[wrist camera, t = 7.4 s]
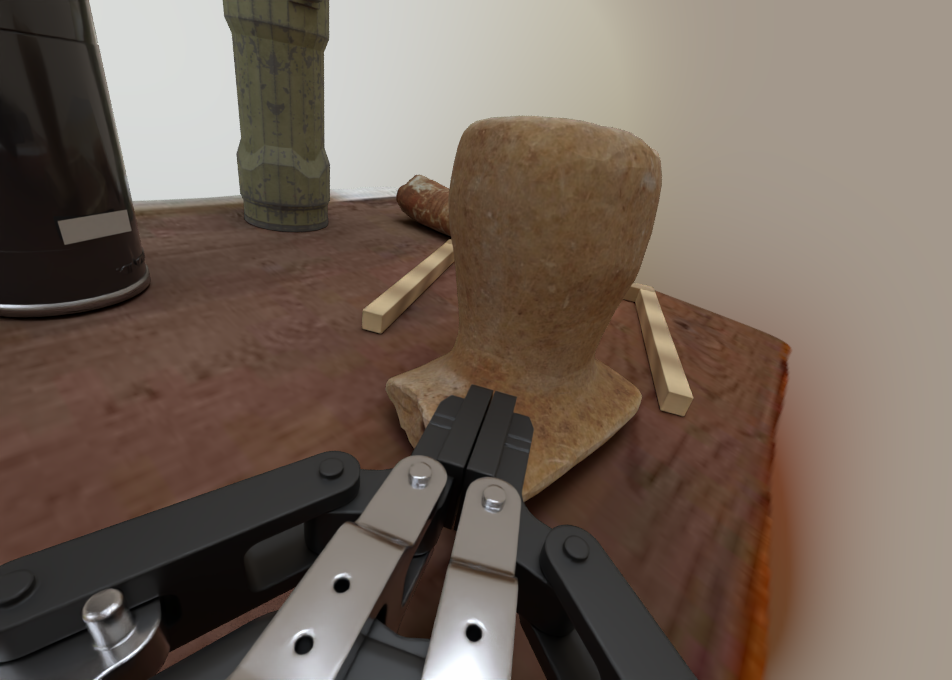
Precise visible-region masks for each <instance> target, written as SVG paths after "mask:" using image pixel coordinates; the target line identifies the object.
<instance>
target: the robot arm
mask: <svg viewBox="0 0 952 680" xmlns="http://www.w3.org/2000/svg"><path fill="white" fill-rule="evenodd" d="M97 43H98V41H97V36H96V32H95V27H94V22H93V17H92V13H91V8H90V4H89V0H0V316H5V317H44V316H56V315H65V314H73V313H79V312H85V311H90V310H95V309H99V308H103V307H107V306H110V305H113V304H117V303H119V302H122V301H125V300H127V299H129V298H132V297H134V296H136V295H137V294H139V293H141V292H142V291H143V290H145V289H146V288H147V286H148V285H149V283H150V274H149V270H148V266H147V265H146V264H145V255H144V251H143V247H142V245H141V240H140V236H139V231H138V227H137V221H136V216H135V212H134V207H133V202H132V198H131V193H130V189H129V184H128V179H127V175H126V170H125V165H124V161H123V156H122V151H121V147H120V142H119V138H118V133H117V128H116V124H115V119H114V114H113V110H112V105H111V100H110V96H109V91H108V87H107V82H106V77H105V73H104V68H103V63H102V59H101V54H100V50H99V45H98V44H97ZM493 392H494V390H491V389H488V388H484V387H481V386H477V385H473V384H471V386H470V388H469V390H468V393H467V395H466V397H465V398H461V397H458V396H454V395H450V396H449V397H447V398H446V399H444V400H443V401H441V402H440V403H439V405H438V407H437V409H436V411H435V413H434V415H433V416H432V418H431V420H430V422H429V424H428V425H427V427H426V429H425V431H424V433H423V434H422V436H421V438H420V440H419V442H418V443H417V445H416V447H415V449H414V451H413V453H412V454H411V456H409V457H406V458H404V459H402V460H401V461H399V462H398V463H397V464H396V466H395V467H394V468H392V469H387V470H364V469H360V464H359V462H358V461H357V460H356V458H354V457H353V456H352V455H350V454H348V453H345V452H341V451H328V452H324V453H320V454H317V455H314V456H311V457H309V458H306V459H303V460H300V461H297V462H294V463H291V464H288V465H286V466H283V467H280V468H277V469H274V470H271V471H268V472H265V473H263V474H260V475H257V476H254V477H251V478H248V479H245V480H242V481H240V482H237V483H234V484H231V485H228V486H225V487H222V488H219V489H217V490H214V491H211V492H208V493H205V494H202V495H199V496H196V497H193V498H191V499H188V500H185V501H182V502H179V503H176V504H173V505H170V506H168V507H165V508H162V509H159V510H156V511H153V512H150V513H147V514H145V515H142V516H139V517H136V518H133V519H130V520H127V521H124V522H122V523H119V524H116V525H113V526H110V527H107V528H104V529H101V530H98V531H96V532H93V533H90V534H87V535H84V536H81V537H78V538H75V539H73V540H70V541H67V542H64V543H61V544H58V545H55V546H52V547H50V548H47V549H44V550H41V551H38V552H35V553H32V554H29V555H27V556H24V557H21V558H18V559H15V560H13V561H10V562H7V563H5V564H3V565H1V566H0V680H511V670H512V657H513V645H514V633H515V621H516V612H517V613H518V614H519V619H520V623H521V626H522V628H523V630H524V633H525V635H526V637H527V639H528V641H529V643H530V645H531V647H532V649H533V651H534V653H535V655H536V658H537V660H538V662H539V664H540V666H541V668H542V670H543V672H544V674H545V676H546V678H547V680H697V678H696V677H695V675H694V674H693V673H692V671H691V670H690V668H689V667H688V666H687V664H686V663H685V662H684V660H683V659H682V657H681V656H680V655H679V653H678V652H677V650H676V649H675V648H674V646H673V645H672V644H671V642H670V641H669V639H668V638H667V637H666V635H665V634H664V632H663V631H662V630H661V628H660V627H659V626H658V624H657V623H656V621H655V620H654V619H653V617H652V616H651V614H650V613H649V612H648V610H647V609H646V608H645V606H644V605H643V603H642V602H641V601H640V599H639V598H638V596H637V595H636V594H635V592H634V591H633V590H632V588H631V587H630V585H629V584H628V583H627V581H626V580H625V578H624V577H623V576H622V574H621V573H620V572H619V570H618V569H617V567H616V566H615V565H614V563H613V562H612V560H611V559H610V558H609V556H608V555H607V553H606V552H605V551H604V549H603V548H602V547H601V545H600V544H599V542H598V541H597V540H596V539H595V538H594V537H593V536H592V535H591V534H589V533H588V532H587V531H585V530H583V529H581V528H579V527H576V526H572V525H560V526H557V527H554V528H553V529H552V528H550V527H548V526H547V525H545V524H544V523H542V522H541V521H539V520H538V519H536V518H535V517H534V516H533V515H532V514H531V513H530V512H529V510H528V509H527V507H526V506H525V503H524V501H523V497H522V489H523V484H524V479H525V474H526V469H527V463H528V458H529V453H530V448H531V442H532V438H533V433H534V428H533V425H532V422H531V419H530V417H528V416H525V415H521V414H518V413H514V408H515V404H516V400H517V397H516V396H513V395H509V394H506V393H502V392H499V391H495V393H494V395H493ZM492 397H493V398H492ZM457 511H458V512H457ZM456 514H457V516H456ZM455 517H456V521H455V526H454V530H455V531H457V533H456V538H455V542H454V546H453V550H452V554H451V558H450V561H449V565H448V569H447V573H446V577H445V581H444V586H443V590H442V594H441V598H440V602H439V606H438V610H437V615H436V619H435V623H434V627H433V631H432V635H431V639H421V638H406V637H402V636H399V635H398V634H397V633H398V630H399V626H400V624H401V621H402V618H403V616H404V614H405V611H406V609H407V607H408V605H409V603H410V601H411V599H412V597H413V594H414V592H415V590H416V588H417V586H418V584H419V582H420V579H421V577H422V575H423V573H424V571H425V569H426V567H427V565H428V562H429V560H430V558H431V556H432V554H433V551H434V546H435V545H436V543H437V541H438V538H439V536H440V533H441V530H442V528H443V527H445V528H448V529H452V526H453V523H454V520H455ZM293 588H295V589H294V590H293V591H292V593H291V594H290V596H289V597H288V598H287V600H286V601H285V602H284V604H283V605H282V606H281V608H280V609H279V610H277V611H274V612H270V613H268V614H265V615H263V616H261V617H258V618H256V619H254V620H252V621H250V622H248V623H247V624H245V625H243V626H241V627H240V628H238V629H236V630H234V631H233V632H231V633H229V634H227V635H225V636H224V637H222V638H220V639H218V640H217V641H215V642H213V643H211V644H210V645H208V646H206V647H204V648H202V649H201V650H199V651H197V652H195V653H194V654H192V655H190V656H188V657H187V658H185V659H183V660H181V661H180V662H178V663H176V664H174V665H172V666H171V667H169V668H167V669H165V670H164V671H162V672H160V673H158V674H157V672H158V671H159V670H160V669H161V667H162V665H163V664H164V662H165V660H166V658H167V656H168V653H169V652H171V651H173V650H175V649H177V648H179V647H181V646H182V645H184V644H186V643H188V642H190V641H192V640H194V639H196V638H198V637H200V636H202V635H204V634H206V633H208V632H210V631H211V630H213V629H215V628H217V627H219V626H221V625H223V624H225V623H227V622H229V621H231V620H233V619H235V618H237V617H239V616H240V615H242V614H244V613H246V612H248V611H250V610H252V609H254V608H256V607H258V606H260V605H262V604H264V603H266V602H268V601H269V600H271V599H273V598H275V597H277V596H279V595H281V594H283V593H285V592H287V591H289V590H291V589H293ZM156 674H157V675H156Z"/></svg>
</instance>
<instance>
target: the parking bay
mask: <svg viewBox="0 0 952 680" xmlns="http://www.w3.org/2000/svg"><path fill="white" fill-rule="evenodd" d="M454 261H455V260H454V252H453V245H452V240H448V241H447V242H446V243H445V244H444V245H442V246H441V247H440V248H439V249H437V250H436V251H435V252H434V253H433V254H431V255H430V256H429V257H428V258H426V259H425V260H424V261H423V262H421V263H420V264H419V265H418V266H416V267H415V268H414V269H413V270H412V271H410V272H409V273H408V274H407V275H405V276H404V277H403V278H402V279H400V280H399V281H398V282H397V283H395V284H394V285H393V286H392V287H391V288H389V289H388V290H387V291H386V292H384V293H383V294H382V295H381V296H379V297H378V298H377V299H376V300H374V301H373V302H372V303H371V304H370V305H368V306H367V307H366V308H365V309H363V316H362V329H365V330H369V331H373V332H376V333H380V334H381V333H383V332H384V331H385V330H386V329H387V328H388V327H389V326H390V325H391V324H392V323H393V322H394V321H395V320H396V319H397V318H398V317H399V316H400V315H401V314H402V313H403V312H404V311H405V310H406V309H407V308H408V307H409V306H410V305H411V304H412V303H413V302H414V301H415V300H416V299H417V298H418V297H419V296H420V295H421V294H422V293H423V292H424V291H425V290H426V289H427V288H428V287H429V286H430V285H431V284H432V283H433V282H434V281H435V280H436V279H437V278H438V277H439V276H440V275H441V274H442V273H443V272H444V271H445V270H446V269H447V268H448V267H449V266H450V265H451V264H452V263H453V262H454ZM623 299H625V300H629V301H633V302H635V304H636V308H637V312H638V316H639V321H640V325H641V329H642V334H643V338H644V342H645V346H646V351H647V355H648V359H649V364H650V368H651V372H652V376H653V381H654V385H655V389H656V394H657V398H658V402H659V406H660V410H662V411H666V412H669V413H673V414H677V415H680V416H685V414H686V412H687V410H688V408H689V406H690V404H691V402H692V400H693V395H692V393H691V390H690V387H689V384H688V382H687V379H686V376H685V373H684V371H683V368H682V365H681V362H680V360H679V357H678V354H677V351H676V349H675V346H674V343H673V340H672V338H671V335H670V332H669V329H668V327H667V324H666V321H665V318H664V316H663V313H662V310H661V307H660V305H659V302H658V299H657V296H656V294H655V291H654V288H653V287H650V286H645V285H641V284H637V283H633V284H632V285H631V287H630V289H629V290H628V292H627V293H626V295H625V297H624V298H623Z"/></svg>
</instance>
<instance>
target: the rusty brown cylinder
mask: <svg viewBox="0 0 952 680" xmlns="http://www.w3.org/2000/svg"><path fill="white" fill-rule="evenodd" d="M448 197H449V188H446V187H445V186H442V185H441V184H439V183H437V182H436V181H433V180H430V179H428V178H427V177H425V176H422V175H415V176H414V177H413V178H412V179H410V180H409V182H407V184H405V185H403V186H401V187H400V188H399V189H398V192H397V199H396V200H397V202H398V205H399V206H400V208H401V210H402V211H403V212H404V213H406V214H407V215H408V216H409V217H410V218H412V219H414V220H415V221H417V222H419V223H420V224H423V225H425V226H427V227H429V228H432V229H434V230H436V231H438V232H441V233H444V234H446V235H448V236H451V233H450V224H449V201H448Z"/></svg>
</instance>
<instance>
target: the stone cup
mask: <svg viewBox="0 0 952 680" xmlns="http://www.w3.org/2000/svg"><path fill="white" fill-rule="evenodd" d="M661 186H662V171H661V161H660V157H659V154H658V152H657V151H656V150H654V149H652V148H650V147H649V146H648V145H647V144H646V143H645V142H644V141H643V140H642V139H640V138H638V137H637V136H635V135H634V134H632V133H630V132H627V131H624V130H621V129H617V128H613V127H606V126H600V125H597V124H593V123H589V122H585V121H580V120H573V119H567V118H553V117H539V116H510V117H493V118H488V119H483V120H479V121H476V122H474V123H472V124H471V125H470V126H469V127H468V128H467V129H466V130H465V131H464V133H463V135H462V137H461V140H460V142H459V145H458V148H457V153H456V157H455V161H454V166H453V171H452V176H451V183H450V189H449V197H448V201H449V224H450V233H451V239H452V245H453V252H454V260H455V268H456V281H457V294H458V304H459V332H458V336H457V339H456V342H455V345H454V348H453V349H452V350H451V352H449V353H447V354H445V355H443V356H441V357H439V358H437V359H435V360H433V361H431V362H429V363H427V364H425V365H423V366H420V367H418V368H416V369H413V370H411V371H408V372H405V373H402V374H400V375H397V376H395V377H392V378H390V379H389V380H388V382H387V384H386V392H387V394H388V397H389V398H390V400H391V401H392V402H393V404H394V405H395V408H396V411H397V414H398V417H399V421H400V425H401V427H402V428H403V429H404V430H405V431H406V434H407V437H408V440H409V442H410V443H411V445H412V446H413V448H414V449H415V447H416V445H417V443H418V442H419V440H420V438H421V436H422V434H423V433H424V431H425V429H426V427H427V425H428V424H429V422H430V420H431V418H432V416H433V415H434V413H435V411H436V409H437V407H438V405H439V403H440V402H441V401H443V400H444V399H446V398H447V397H449V396H450V395H454V396H458V397H461V398H465V397H466V395H467V393H468V390H469V388H470V386H471V384H473V385H477V386H481V387H484V388H488V389H491V390H494V392H493V395H494V393H495V391H499V392H502V393H506V394H509V395H513V396H516V397H517V400H516V404H515V408H514V413H518V414H521V415H525V416H528V417H530V419H531V422H532V425H533V428H534V433H533V438H532V442H531V448H530V453H529V458H528V463H527V469H526V474H525V479H524V484H523V489H522V497H523V501H524V502H525V501H526V500H528V499H529V498H531V497H533V496H535V495H537V494H538V493H540V492H541V491H542V490H544V489H545V488H546V487H548V486H549V485H550V484H552V483H553V482H554V481H556V480H557V479H558V478H560V477H561V476H562V475H564V474H565V473H566V472H567V471H569V470H570V469H571V468H572V467H574V466H575V465H576V464H578V463H579V462H581V461H582V460H583V459H585V458H586V457H587V456H589V455H590V454H591V453H593V452H594V451H595V450H596V449H598V448H599V447H600V446H602V445H603V444H604V443H605V442H606V441H608V440H609V439H610V438H611V437H612V436H613V435H614V434H615V433H616V432H617V431H619V430H620V429H621V428H622V427H623V426H624V425H625V424H626V423H627V422H628V421H629V420H630V419H631V418H632V417H633V416H634V415H635V413H636V412H637V411H638V408H639V405H640V402H641V398H642V395H641V393H640V392H639V390H638V389H637V388H636V387H635V386H634V385H633V384H632V383H630V382H629V381H628V380H626V379H625V378H624V377H622V376H621V375H620V374H618V373H617V372H615V371H614V370H613V369H611V368H610V367H608V366H607V365H605V364H604V363H602V362H600V361H599V360H597V359H595V351H596V348H597V346H598V344H599V342H600V339H601V337H602V335H603V333H604V331H605V329H606V327H607V326H608V324H609V322H610V320H611V318H612V316H613V314H614V312H615V310H616V309H617V307H618V306H619V304H620V303H621V301H622V300H623V298H624V297H625V295H626V293H627V292H628V290H629V289H630V287H631V285H632V284H633V282H634V281H635V279H636V276H637V274H638V272H639V269H640V267H641V264H642V261H643V258H644V255H645V252H646V249H647V245H648V242H649V240H650V236H651V234H652V230H653V225H654V220H655V217H656V212H657V207H658V203H659V197H660V191H661ZM492 398H493V397H492Z"/></svg>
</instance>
